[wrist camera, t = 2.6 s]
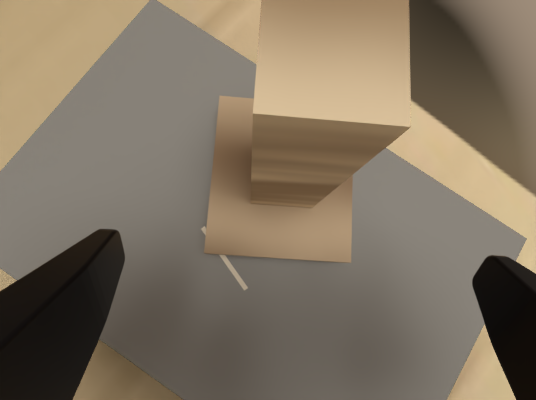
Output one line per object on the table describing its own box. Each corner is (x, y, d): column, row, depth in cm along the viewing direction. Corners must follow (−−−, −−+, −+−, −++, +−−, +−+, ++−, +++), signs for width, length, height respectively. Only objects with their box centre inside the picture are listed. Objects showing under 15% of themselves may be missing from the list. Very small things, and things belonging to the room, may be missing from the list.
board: (506, 240, 20) (527, 238, 18) (366, 514, 17) (377, 539, 15) (159, 15, 21) (152, -3, 20) (-28, 233, 18) (-53, 231, 17)
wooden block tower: (339, 262, 18) (523, 267, 6) (209, 253, 17) (123, 241, 6) (343, 123, 19) (495, -99, 7) (222, 112, 19) (178, -136, 7)
